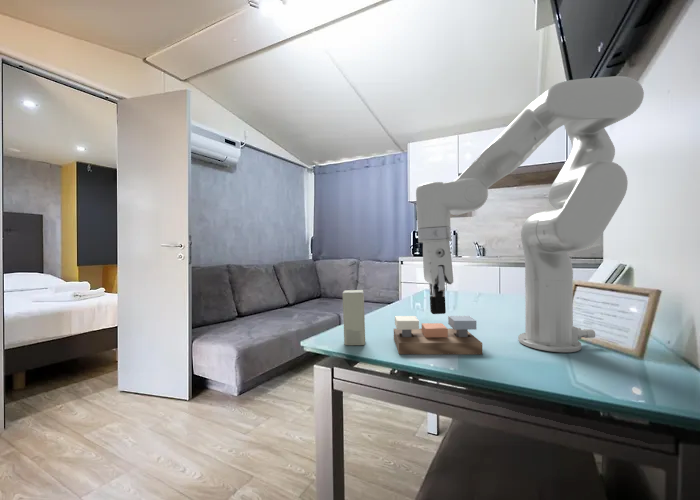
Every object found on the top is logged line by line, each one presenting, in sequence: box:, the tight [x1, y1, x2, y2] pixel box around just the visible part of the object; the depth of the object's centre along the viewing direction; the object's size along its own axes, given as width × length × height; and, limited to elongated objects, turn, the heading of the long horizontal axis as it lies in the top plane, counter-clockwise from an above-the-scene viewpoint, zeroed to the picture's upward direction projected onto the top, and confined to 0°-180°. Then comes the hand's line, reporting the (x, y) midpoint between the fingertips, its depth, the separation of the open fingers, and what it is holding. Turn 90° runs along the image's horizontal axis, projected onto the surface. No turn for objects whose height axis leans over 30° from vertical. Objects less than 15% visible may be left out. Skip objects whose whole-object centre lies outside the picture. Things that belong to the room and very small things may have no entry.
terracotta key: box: [421, 322, 449, 337], centre depth 75 cm, size 5×5×4 cm
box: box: [342, 289, 366, 346], centre depth 77 cm, size 5×4×13 cm
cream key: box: [394, 315, 420, 337], centre depth 75 cm, size 5×5×4 cm
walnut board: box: [393, 328, 483, 355], centre depth 75 cm, size 18×12×2 cm, turn 88°
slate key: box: [447, 315, 477, 337], centre depth 74 cm, size 5×5×4 cm
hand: (438, 313), depth 75 cm, fingers closed
